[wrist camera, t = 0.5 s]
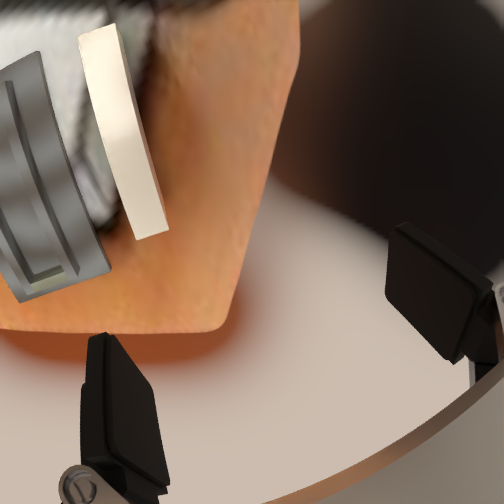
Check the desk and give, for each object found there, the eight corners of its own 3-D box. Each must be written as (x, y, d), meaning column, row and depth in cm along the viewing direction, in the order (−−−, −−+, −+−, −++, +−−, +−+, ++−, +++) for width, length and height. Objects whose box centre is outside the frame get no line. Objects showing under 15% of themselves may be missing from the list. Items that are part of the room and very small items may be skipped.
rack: (-58, 111, 18) (-72, 115, 16) (39, 51, 20) (30, 49, 18) (21, 298, 32) (15, 313, 30) (111, 267, 35) (109, 281, 32)
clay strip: (93, 47, 23) (77, 36, 16) (122, 38, 23) (115, 23, 17) (137, 206, 33) (136, 240, 26) (163, 198, 33) (169, 229, 27)
